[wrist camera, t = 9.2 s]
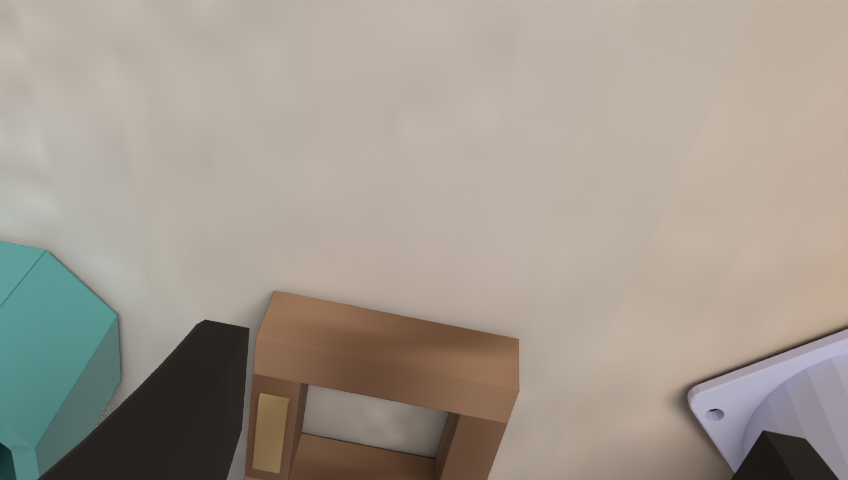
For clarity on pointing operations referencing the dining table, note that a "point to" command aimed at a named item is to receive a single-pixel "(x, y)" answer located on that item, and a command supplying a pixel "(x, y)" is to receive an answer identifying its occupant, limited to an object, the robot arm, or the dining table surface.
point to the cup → (50, 361)
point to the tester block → (375, 390)
